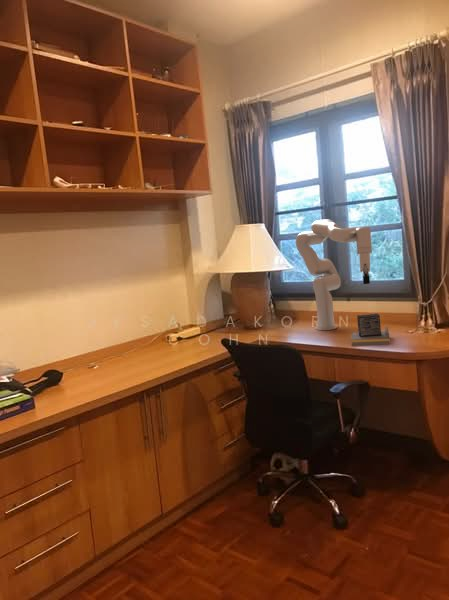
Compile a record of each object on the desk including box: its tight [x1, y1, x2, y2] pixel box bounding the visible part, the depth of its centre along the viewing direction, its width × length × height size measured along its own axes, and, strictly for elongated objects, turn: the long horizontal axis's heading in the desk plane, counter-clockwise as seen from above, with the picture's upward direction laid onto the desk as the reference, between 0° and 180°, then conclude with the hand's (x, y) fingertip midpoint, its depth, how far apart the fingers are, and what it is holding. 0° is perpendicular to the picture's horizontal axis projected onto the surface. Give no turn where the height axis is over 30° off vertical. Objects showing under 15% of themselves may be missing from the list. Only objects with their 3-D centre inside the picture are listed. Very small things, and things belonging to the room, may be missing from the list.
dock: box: [350, 326, 391, 346], centre depth 245 cm, size 16×18×5 cm
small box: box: [356, 313, 382, 337], centre depth 245 cm, size 11×6×10 cm, turn 82°
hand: (366, 282), depth 257 cm, fingers open, 9 cm apart
